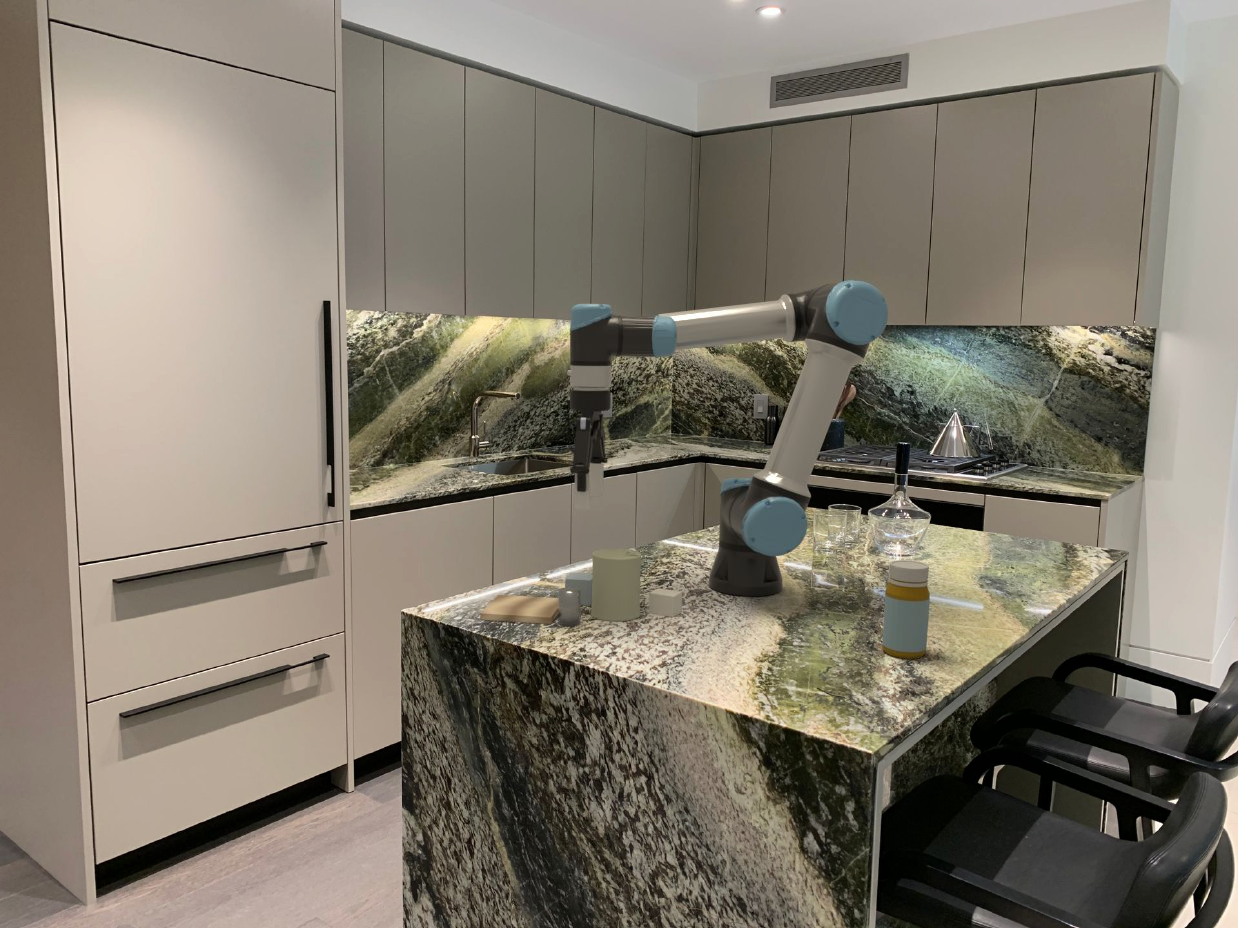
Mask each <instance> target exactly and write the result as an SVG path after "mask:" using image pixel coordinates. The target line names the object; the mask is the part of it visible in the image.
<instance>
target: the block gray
mask: <svg viewBox="0 0 1238 928" xmlns="http://www.w3.org/2000/svg"><path fill="white" fill-rule="evenodd" d="M592 577H593V573H582V572H581V573H576V572H569V573H568V575H567V576H566V577H565V579H564V588H566V587H573V588H578V589H580V590H581V606H592Z"/></svg>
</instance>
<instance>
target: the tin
mask: <svg viewBox="0 0 1238 928" xmlns="http://www.w3.org/2000/svg"><path fill="white" fill-rule="evenodd" d="M557 590H558V595H557V598H558V615H557V624H558V625H560V626H563V627H565V626H566V627H575V626H579V625H580V624H581V606H582V605H581V590H580V589H578V588H573V587H566V588H565V587H560V588H558V589H557Z"/></svg>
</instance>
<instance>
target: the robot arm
mask: <svg viewBox="0 0 1238 928" xmlns="http://www.w3.org/2000/svg"><path fill="white" fill-rule="evenodd" d="M612 311H613V310H612V306H611V305H610V304H606V303H605V304H604V303H603V304H601V303H578V304H575V305H573V307H572V308H571V310H570V326H569V360H570V361H569V365H570V367H569V368H570V369H569V370H567V372H566V374H567V376H570V378H569V384H570V385H569V386H571V388H573V389H572V390H570V391H569V409H570V410H571V411H575V412H579V411H580V417H576V420H575V423H576V427H575V438H574V439H575V440H574V447H573V448H574V449H573V458H572V459H573V460H572V466H571V467H570V470H569V471H570V474H574V509H575V510H591V498H604V464H608V460H609V459H608V457H607V456H606V448H605V447H606V445H605V435H604V434H605V433H604V421H603V420H604V414H603V412H607V411H610V410H611V403H612V402H611V401H612V400H611V398H612V397H611V394H612V393H611V390H609V388H610V387H612V357H617V358H618V357H626V358H627V357H628V358H629V357H630V358H633V357H635V358H656V359H658V358H665V357H666V358H669V357H671V356H673V355H674V354H675V352H676V351H683V350H684V351H685V350H691V349H700V348H701V349H702V348H707V347H717V346H718V347H719V346H724V345H725V346H727V345H733V344H741V343H742V344H743V343H751V342H759V341H770V340H777V339H782V340H784V342H786V343H795V342H804V344H805V345H806V347H807V350H808V353H807V356H806V358H805V361H804V364H803V366H802V368H801V371H800V374H799V377H798V379H797V381H796V384H795V387H794V391H793V393H792V395H791V397H790V400H789V404H788V406H787V409H786V412H785V414H784V416H783V419H782V420H781V421H782V422H781V425H780V427H779V430H778V432H777V435H776V438H775V440H774V444H773V445H772V448H771V451H770V452H769V453H770V454H769V456H768V458H767V461H766V464H765V465H764V468H763V470H760V471H758V472H755V473H754V474H753V476H752V478H751V477H750V478H749V477H748V478H747V477H731V478H730V477H729V478H725V479H723V480H722V482H721V485H720V492H719V497H720V499H719V501H720V503H719V528H718V529H719V531H718V551H717V553H716V556H715V558H714V562H713V565H712V566H711V570H710V572H709V577H708V578H709V579H708V586H709V588H711V589H712V590H713V591H717V592H720V593H723V594H729V595H734V596H744V597H745V596H746V597H759V596H760V597H764V596H769V595H774V594H775V595H776V594H778V593H780V592H781V591H782V590H783V576H782V573H781V569H780V565H779V561H778V558H777V557H780V556H785V555H787V554H790V553H791V552H794V551H795V550H796V549H797V548H798V547H799V546H800V545H801V544H802V542H804V541H803V540H804V539H805V537H806V534H807V530H808V519H807V518H808V517H807V515H806V511H807V508H808V505H809V503H810V500H811V497H812V495H811V492H810V490H809V487H808V482H809V480H810V477H811V475H812V472H813V470H814V467H815V464H816V462H817V460H818V457H819V455H820V452H821V448H822V446H823V443H824V441H825V438H826V435H827V433H828V431H829V428H830V425H831V423H832V420H833V417H834V415H835V412H836V410H837V408H838V404H839V402H840V399H841V396H842V394H843V391H844V388H845V386H846V384H847V380H848V378H849V376H850V373H851V370H852V369H853V368H854V366H856V365H859V364H861V363H862V362H864V359H865V356H866V354H867V352H868V349H869V346H870V344H871V343H873V342H874V341H876V340H877V339H878V338H879V337H880V336H881V335H882V334H883V332H884V331H885V329H886V326H887V325H888V320H889V308H888V303H887V301H886V298H885V297H884V295H883V294H882V292H881V291H880V290H879V289H878V288H877V287H876V286H874V285H873V284H870V283H868V282H865V281H862V280H855V279H853V280H852V279H849V280H844V281H841V282H837V283H827V284H823V285H820V286H818V287H814V288H810V289H807V290H803V291H798V292H795V293H787V294H786V293H784V294H781V296H780V298H779V299H778V300H769V301H761V302H752V303H746V304H745V303H744V304H735V305H728V306H727V305H726V306H717V307H710V308H702V309H701V308H700V309H693V310H684V311H675V312H667V313H658V314H648V315H616V314H613V312H612Z"/></svg>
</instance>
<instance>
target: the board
mask: <svg viewBox="0 0 1238 928" xmlns="http://www.w3.org/2000/svg"><path fill="white" fill-rule="evenodd" d="M479 616H480V618H479V620H480V621H494V622H495V621H496V622H512V623H526V624H527V623H528V624H529V623H531V624H545V625H552V623H553V622H554V621H555V619H556V617H558V597H548V596H547V597H545V596H527V595H526V596H525V595H524V596H523V595H510V594H507V595H506V594H498V595H496V596H495V597H494V598H493V600H491V602H490V603H488V605H487V606H486V607H485V608H483V610H482V611H481V612H480V614H479Z"/></svg>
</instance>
